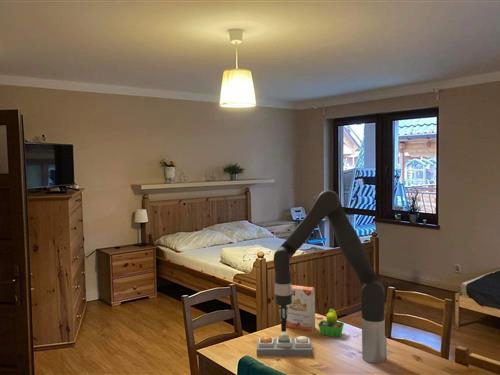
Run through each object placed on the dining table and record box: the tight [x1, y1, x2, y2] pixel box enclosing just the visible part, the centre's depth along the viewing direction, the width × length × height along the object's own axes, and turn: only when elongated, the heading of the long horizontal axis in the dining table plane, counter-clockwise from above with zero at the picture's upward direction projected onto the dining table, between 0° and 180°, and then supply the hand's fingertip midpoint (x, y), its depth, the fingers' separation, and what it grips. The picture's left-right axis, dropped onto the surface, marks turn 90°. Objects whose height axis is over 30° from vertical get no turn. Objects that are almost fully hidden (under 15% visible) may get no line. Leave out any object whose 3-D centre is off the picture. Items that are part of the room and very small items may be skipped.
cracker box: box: [286, 284, 316, 332], centre depth 223 cm, size 14×6×21 cm, turn 62°
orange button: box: [260, 335, 272, 343], centre depth 197 cm, size 4×4×2 cm
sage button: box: [278, 332, 290, 341], centre depth 197 cm, size 4×4×2 cm
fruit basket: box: [318, 308, 345, 338], centre depth 215 cm, size 11×9×11 cm
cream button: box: [296, 335, 308, 343], centre depth 196 cm, size 4×4×2 cm
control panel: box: [256, 337, 313, 357], centre depth 197 cm, size 24×12×4 cm, turn 87°
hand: (283, 330), depth 197 cm, fingers closed
